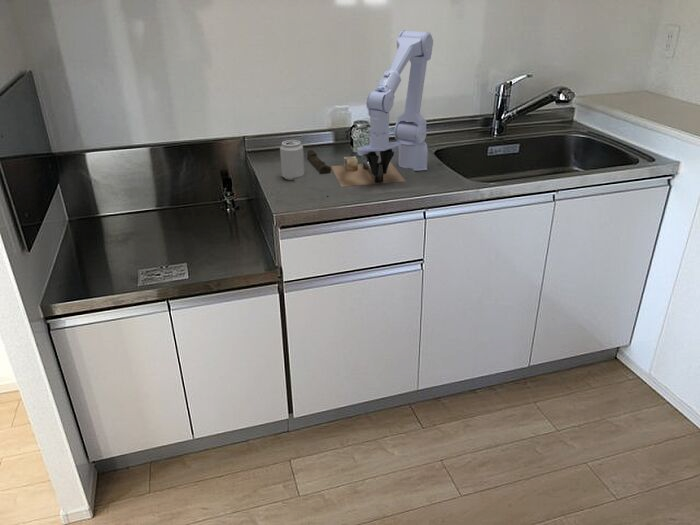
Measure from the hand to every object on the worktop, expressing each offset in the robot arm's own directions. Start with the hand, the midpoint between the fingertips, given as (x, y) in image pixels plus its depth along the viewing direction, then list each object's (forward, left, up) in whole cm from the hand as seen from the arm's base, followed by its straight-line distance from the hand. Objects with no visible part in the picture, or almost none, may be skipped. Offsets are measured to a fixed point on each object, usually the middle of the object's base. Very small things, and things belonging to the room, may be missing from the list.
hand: (379, 173), depth 184 cm
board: (+2, -8, -4) cm, 10 cm away
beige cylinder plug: (+6, -13, -3) cm, 15 cm away
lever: (0, -7, -3) cm, 8 cm away
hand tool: (+18, -21, -4) cm, 28 cm away
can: (+26, -14, -4) cm, 30 cm away
